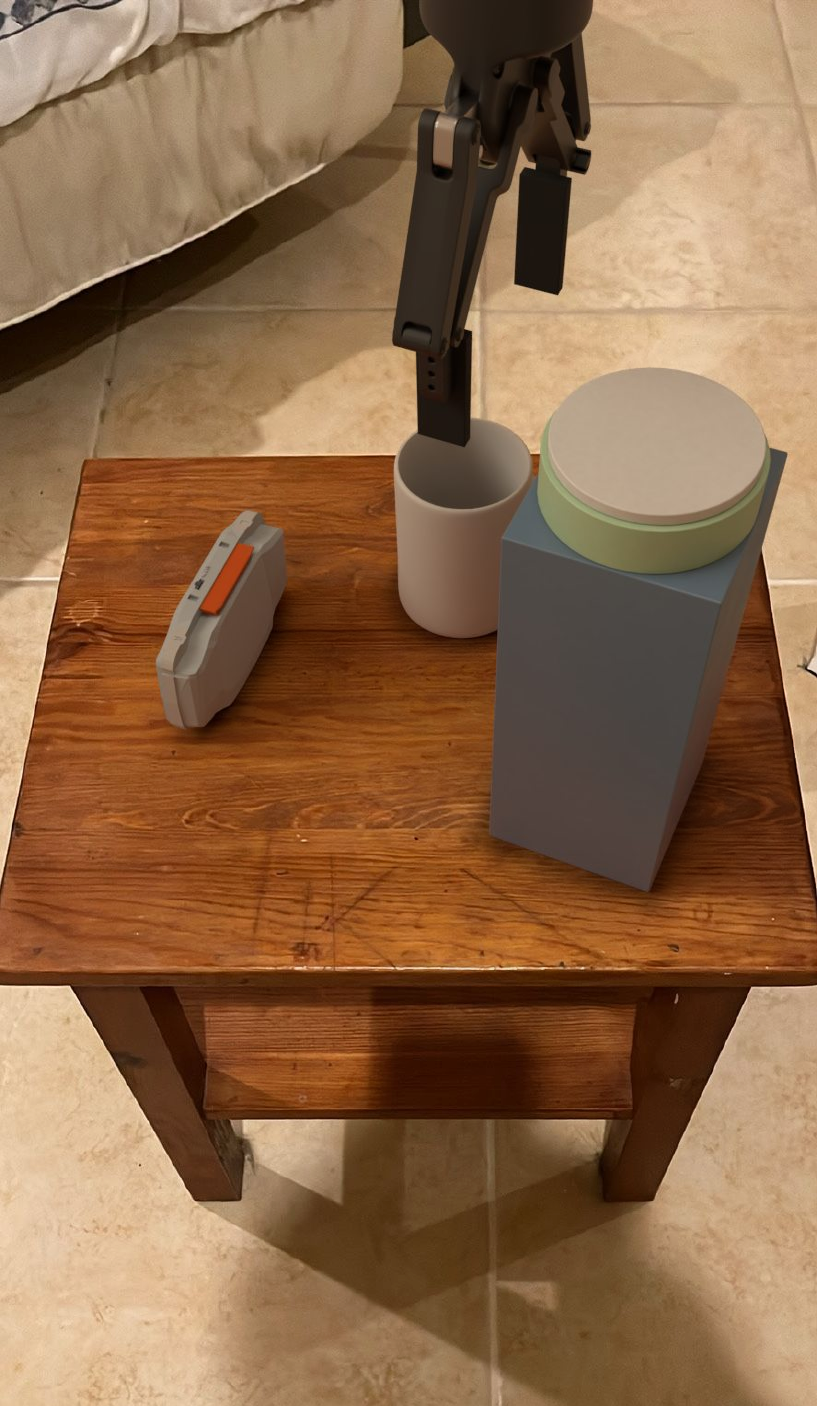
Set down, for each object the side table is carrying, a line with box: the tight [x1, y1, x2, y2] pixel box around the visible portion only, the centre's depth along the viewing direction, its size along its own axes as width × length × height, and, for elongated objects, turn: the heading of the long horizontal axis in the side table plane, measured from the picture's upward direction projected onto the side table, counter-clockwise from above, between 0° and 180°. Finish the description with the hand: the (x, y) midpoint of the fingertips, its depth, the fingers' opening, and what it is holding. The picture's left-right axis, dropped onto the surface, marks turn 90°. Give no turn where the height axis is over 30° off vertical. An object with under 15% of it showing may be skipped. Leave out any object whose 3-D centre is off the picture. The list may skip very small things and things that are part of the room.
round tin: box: [537, 367, 771, 574], centre depth 57 cm, size 10×10×3 cm
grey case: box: [155, 509, 288, 731], centre depth 82 cm, size 14×3×8 cm, turn 160°
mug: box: [393, 416, 536, 639], centre depth 83 cm, size 12×8×11 cm
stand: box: [488, 447, 788, 893], centre depth 68 cm, size 10×10×24 cm
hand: (493, 358), depth 72 cm, fingers open, 13 cm apart
